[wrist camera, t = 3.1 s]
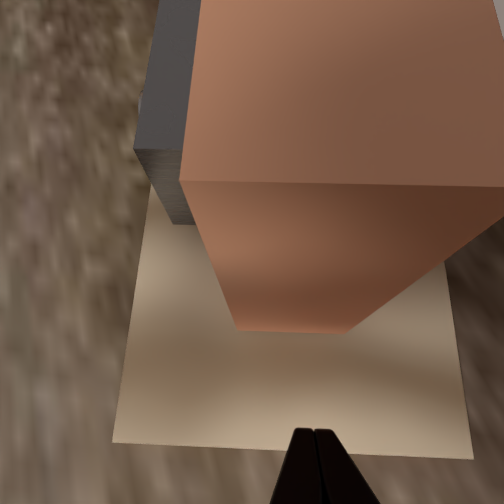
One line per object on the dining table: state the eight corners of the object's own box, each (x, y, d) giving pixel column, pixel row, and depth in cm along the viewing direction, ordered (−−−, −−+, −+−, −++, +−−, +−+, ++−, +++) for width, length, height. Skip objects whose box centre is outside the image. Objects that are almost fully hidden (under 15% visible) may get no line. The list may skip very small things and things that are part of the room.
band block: (432, 230, 18) (510, 154, 12) (152, 224, 18) (103, 148, 13) (413, 96, 21) (469, -16, 15) (171, 93, 21) (138, -16, 15)
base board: (465, 456, 15) (474, 459, 14) (117, 440, 15) (112, 442, 15) (412, 83, 22) (416, 75, 21) (170, 81, 22) (168, 73, 22)
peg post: (344, 334, 16) (543, 187, 5) (237, 330, 16) (178, 180, 5) (338, 206, 18) (464, -106, 7) (243, 204, 18) (214, -104, 7)
